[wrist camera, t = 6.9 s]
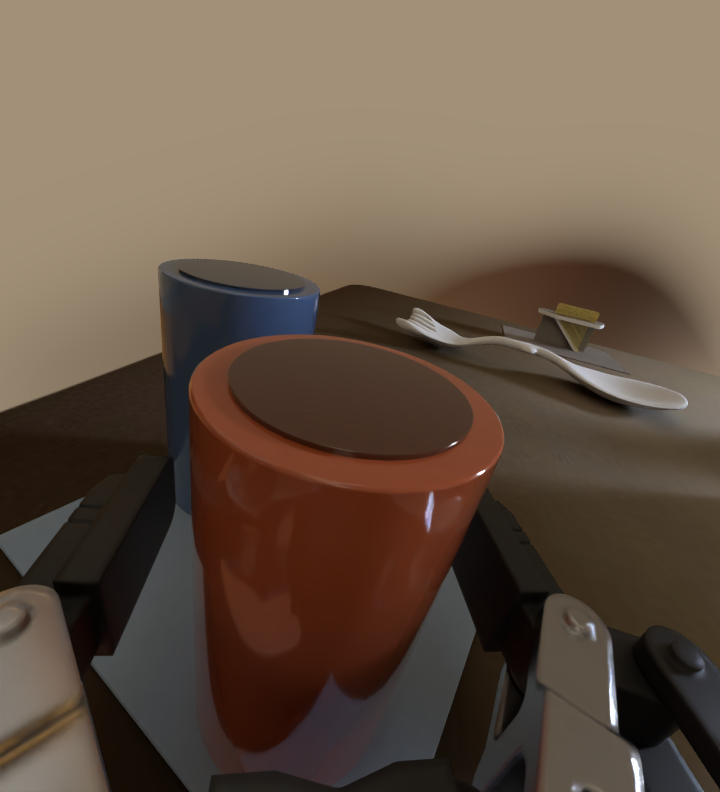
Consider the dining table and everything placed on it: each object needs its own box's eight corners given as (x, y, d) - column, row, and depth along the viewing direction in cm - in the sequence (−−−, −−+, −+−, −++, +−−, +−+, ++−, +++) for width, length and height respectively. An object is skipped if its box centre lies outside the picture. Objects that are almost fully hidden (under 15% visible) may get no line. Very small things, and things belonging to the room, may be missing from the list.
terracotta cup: (308, 876, 8) (442, 569, 3) (150, 688, 10) (108, 361, 6) (415, 651, 13) (531, 395, 8) (289, 557, 15) (325, 318, 10)
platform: (630, 374, 53) (654, 331, 50) (505, 340, 57) (522, 299, 54) (606, 352, 64) (625, 315, 61) (502, 325, 67) (515, 289, 64)
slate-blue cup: (227, 546, 15) (237, 300, 10) (143, 479, 17) (121, 254, 13) (315, 479, 19) (349, 289, 15) (240, 433, 22) (249, 256, 17)
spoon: (408, 328, 52) (414, 304, 51) (658, 402, 44) (675, 376, 42) (389, 342, 44) (396, 315, 43) (688, 435, 36) (710, 405, 35)
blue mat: (351, 1001, 7) (354, 997, 7) (-4, 542, 13) (-6, 537, 13) (489, 589, 16) (491, 584, 16) (234, 432, 22) (234, 428, 22)
